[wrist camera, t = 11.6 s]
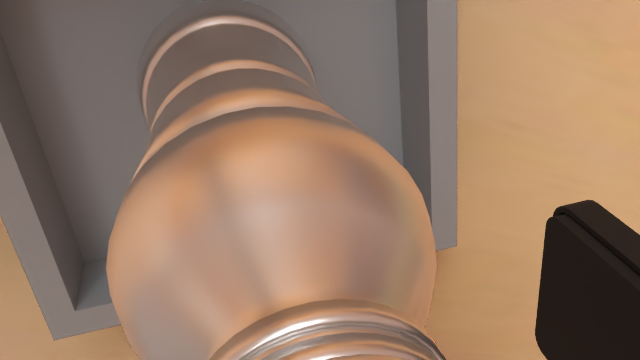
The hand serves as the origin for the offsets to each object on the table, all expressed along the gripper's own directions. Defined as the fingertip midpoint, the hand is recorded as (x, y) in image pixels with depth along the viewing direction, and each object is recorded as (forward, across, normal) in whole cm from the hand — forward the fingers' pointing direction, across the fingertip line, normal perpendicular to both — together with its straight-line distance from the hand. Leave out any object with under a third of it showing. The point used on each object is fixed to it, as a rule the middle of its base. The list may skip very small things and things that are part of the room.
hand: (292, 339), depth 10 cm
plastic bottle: (+17, 0, +1) cm, 17 cm away
